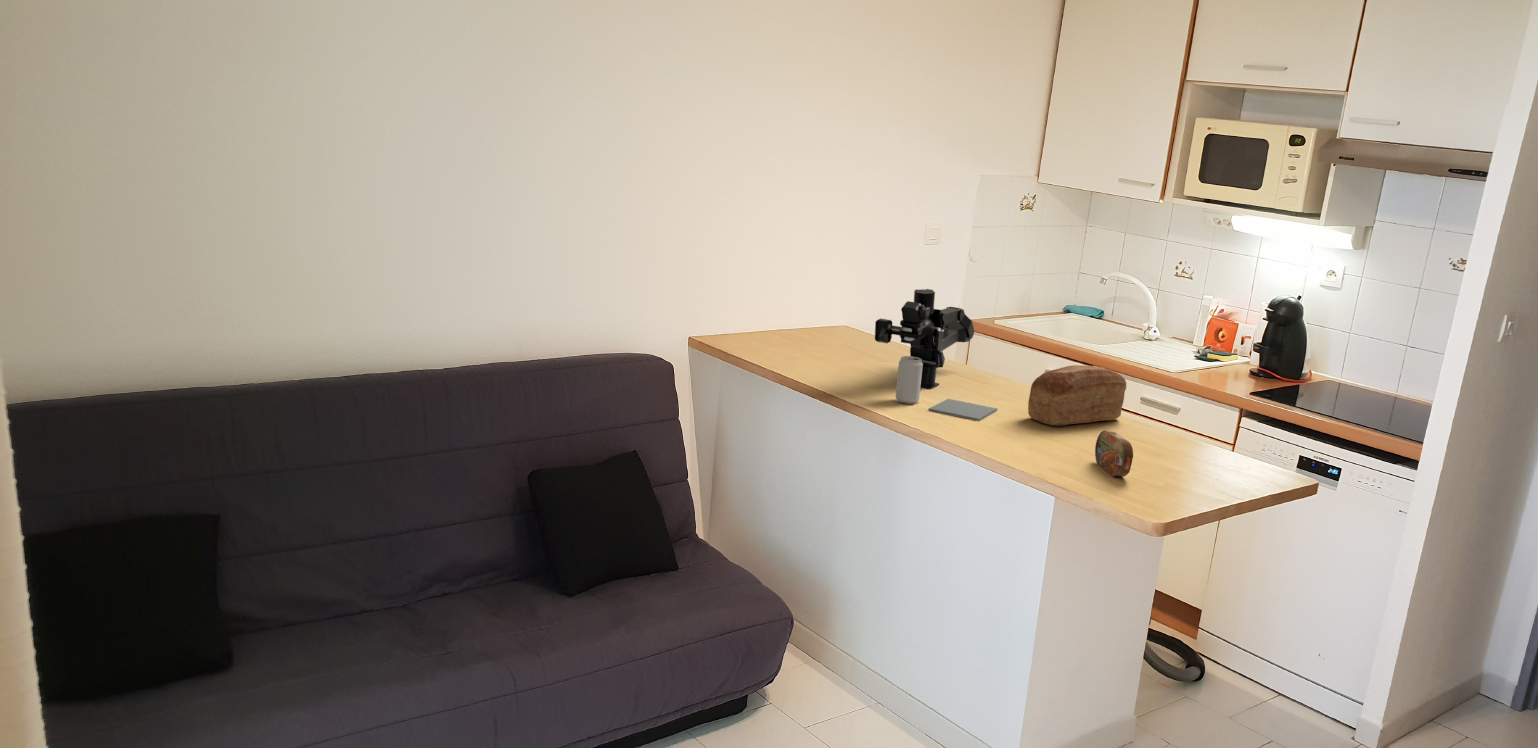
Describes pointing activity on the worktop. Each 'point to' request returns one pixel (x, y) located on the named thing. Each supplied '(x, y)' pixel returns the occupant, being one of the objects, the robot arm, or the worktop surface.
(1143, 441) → the worktop surface
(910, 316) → the robot arm
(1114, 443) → the tin
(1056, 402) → the bread
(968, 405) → the slate mat
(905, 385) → the beverage can
